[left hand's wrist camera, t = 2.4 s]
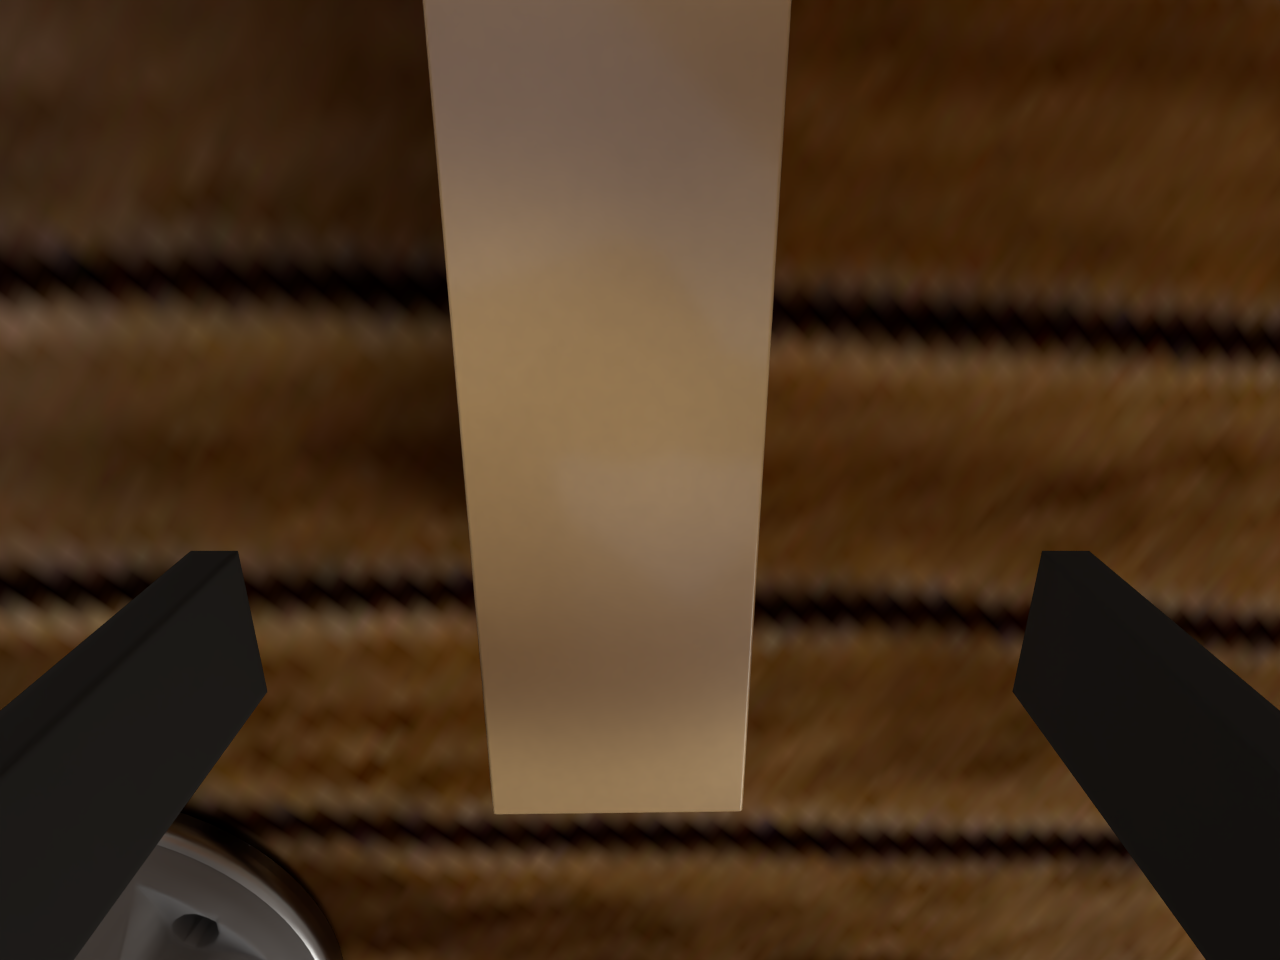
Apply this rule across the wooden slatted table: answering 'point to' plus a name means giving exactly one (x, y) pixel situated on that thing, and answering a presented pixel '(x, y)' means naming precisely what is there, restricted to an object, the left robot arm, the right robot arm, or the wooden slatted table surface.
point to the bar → (611, 379)
